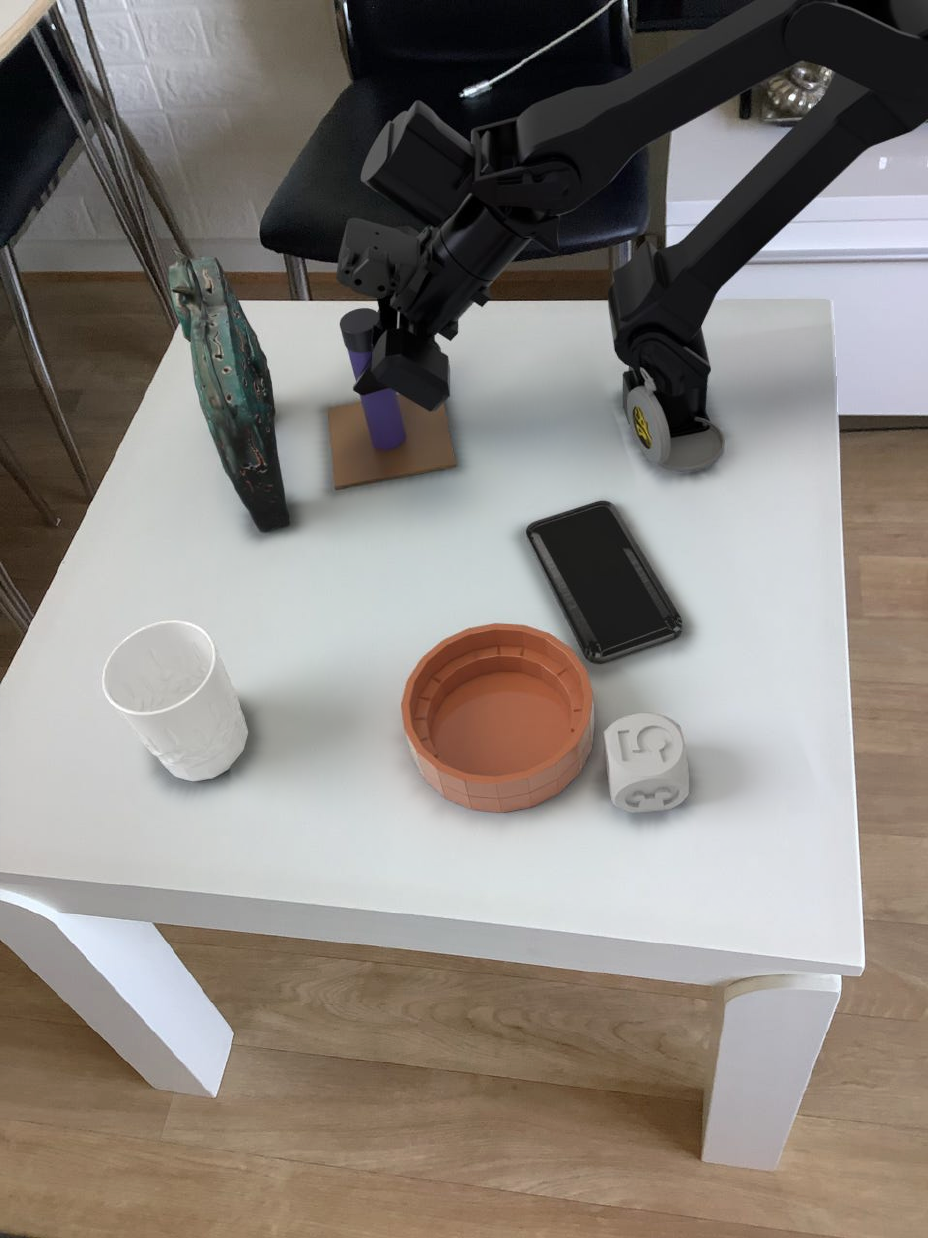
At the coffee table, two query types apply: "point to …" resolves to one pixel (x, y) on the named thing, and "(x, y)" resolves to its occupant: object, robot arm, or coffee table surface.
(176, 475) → the coffee table surface
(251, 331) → the green weathered sculpture
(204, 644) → the white cup
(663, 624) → the phone
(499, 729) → the bowl
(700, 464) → the pocket watch
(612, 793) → the die
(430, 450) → the coaster
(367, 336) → the glue stick
